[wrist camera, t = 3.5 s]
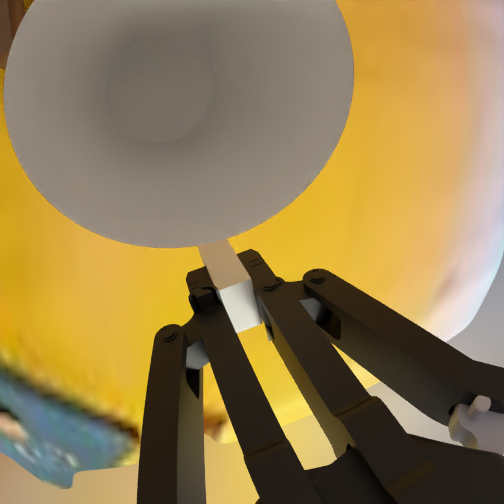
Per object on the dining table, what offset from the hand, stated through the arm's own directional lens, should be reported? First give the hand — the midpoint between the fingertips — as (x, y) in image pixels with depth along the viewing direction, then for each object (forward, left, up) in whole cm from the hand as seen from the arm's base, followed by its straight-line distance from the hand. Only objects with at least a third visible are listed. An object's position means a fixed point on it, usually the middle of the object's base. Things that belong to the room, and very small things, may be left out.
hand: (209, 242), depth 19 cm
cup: (0, +10, -3) cm, 10 cm away
